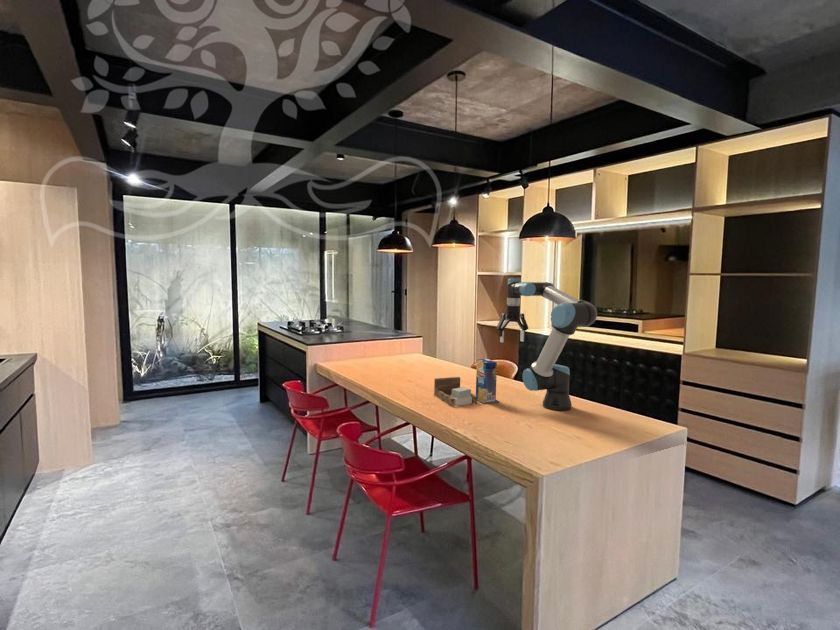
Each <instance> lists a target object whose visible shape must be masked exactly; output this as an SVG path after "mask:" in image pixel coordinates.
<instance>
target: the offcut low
mask: <svg viewBox="0 0 840 630" xmlns="http://www.w3.org/2000/svg"><path fill="white" fill-rule="evenodd" d="M449 396H450V397H452V395H449ZM452 398H454V406H463V405H464V406H465V405H471V404H473V403H472V397H471V396H470V397H465V398H460V399H458V398H455V397H452Z"/></svg>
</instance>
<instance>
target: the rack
mask: <svg viewBox="0 0 840 630" xmlns="http://www.w3.org/2000/svg"><path fill="white" fill-rule="evenodd" d="M433 388H434V392H433V393H434V397H436V398H438V399H439V400H441V401H442V402H444V403H445V404H447V405H449V407H454V406H455V405H454V398H452V397H450V396H451V395H452V389H456V388H461V377H460V376H450V377H438V378H437V377H436V378H435V377H434V385H433ZM471 397H472V404H474V405H477V404H478V402H479V401H478V397H477V396H476V394H473V393H472V392H471Z"/></svg>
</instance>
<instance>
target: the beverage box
mask: <svg viewBox="0 0 840 630" xmlns="http://www.w3.org/2000/svg"><path fill="white" fill-rule="evenodd" d="M497 369H498V362H497V361H495V360H492V359H489V358H479V359H476V372H475V373H476V374H475V376H476V379H475V381H476V382H475V384H476V385H475V396H477V397H478V399H480V400H482V401H484V402H490V401H496V400H497V372H498V371H497Z"/></svg>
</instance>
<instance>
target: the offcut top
mask: <svg viewBox="0 0 840 630" xmlns="http://www.w3.org/2000/svg"><path fill="white" fill-rule="evenodd" d="M460 387H461V386H460ZM471 393H472V389H471V388H468V387H464V386H462V387H461V388H456V389H452V397H455V398H458V399H460V398H465V397H470V396H471Z"/></svg>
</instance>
